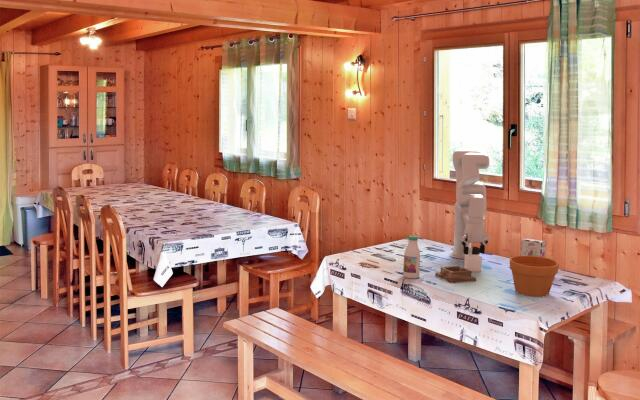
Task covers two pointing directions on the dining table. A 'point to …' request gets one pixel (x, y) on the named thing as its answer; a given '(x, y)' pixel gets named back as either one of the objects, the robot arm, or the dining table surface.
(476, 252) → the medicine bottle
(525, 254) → the candy bar box
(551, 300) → the dining table surface
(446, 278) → the bottle stand
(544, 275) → the flower pot
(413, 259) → the milk bottle
